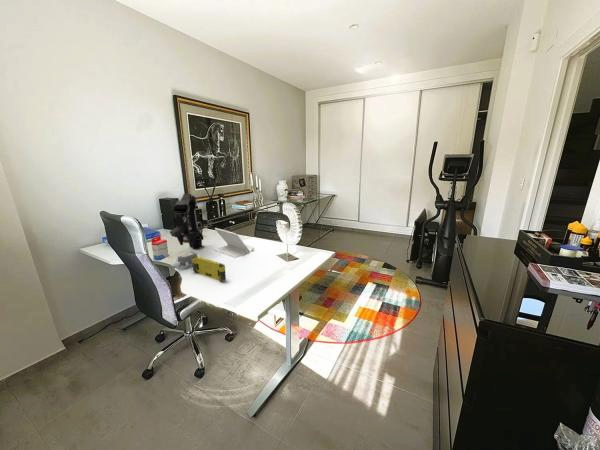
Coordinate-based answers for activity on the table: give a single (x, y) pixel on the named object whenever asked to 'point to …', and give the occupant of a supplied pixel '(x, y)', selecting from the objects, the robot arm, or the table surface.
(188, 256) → the drive
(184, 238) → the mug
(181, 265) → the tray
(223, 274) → the gaming console
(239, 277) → the table surface
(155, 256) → the ink box
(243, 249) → the tablet stand
